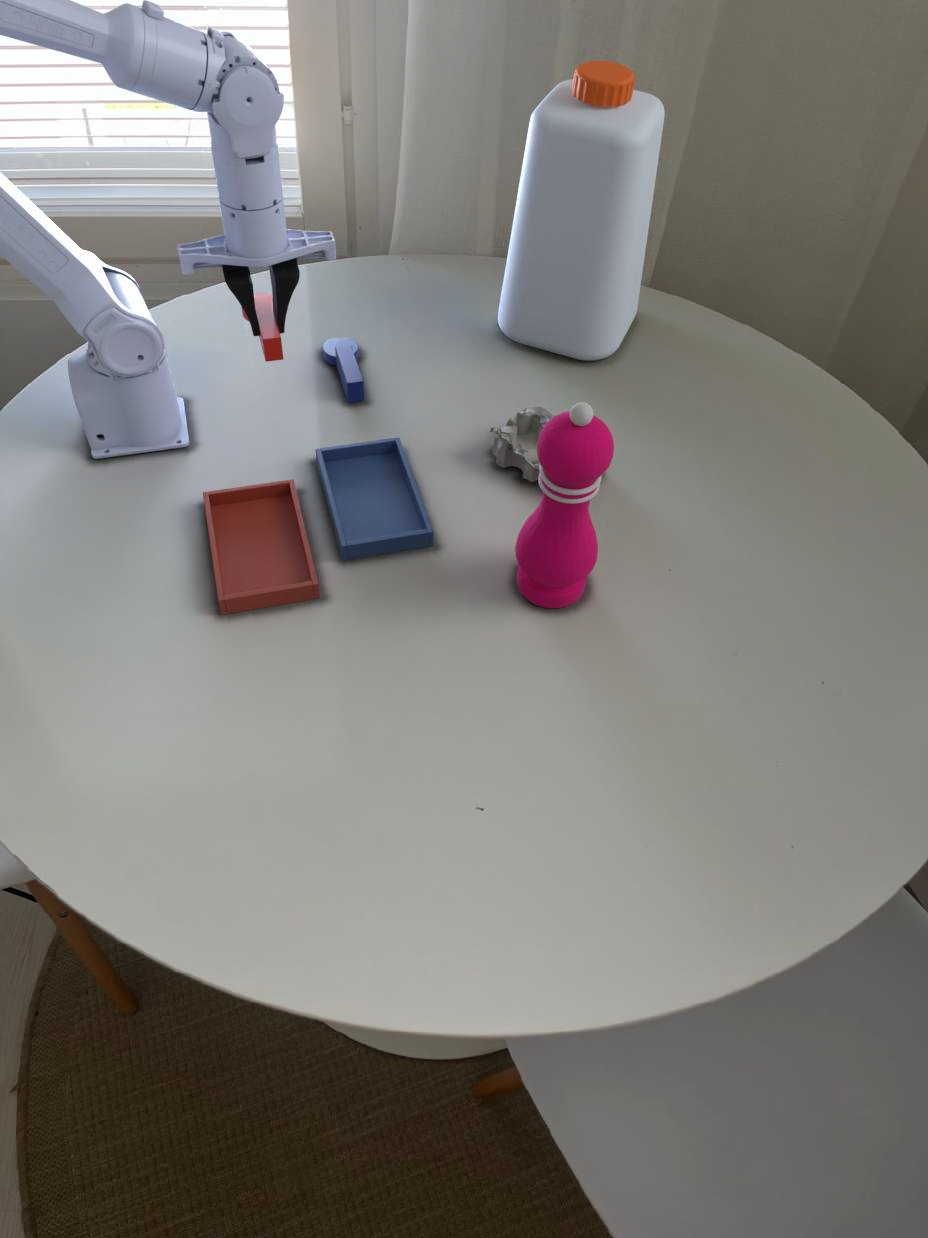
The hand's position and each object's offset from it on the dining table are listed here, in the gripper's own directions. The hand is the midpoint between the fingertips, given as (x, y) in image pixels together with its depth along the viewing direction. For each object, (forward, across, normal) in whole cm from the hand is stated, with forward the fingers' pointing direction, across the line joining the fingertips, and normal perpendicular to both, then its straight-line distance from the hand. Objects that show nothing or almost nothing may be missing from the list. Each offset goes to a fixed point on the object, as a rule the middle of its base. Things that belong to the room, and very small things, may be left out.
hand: (268, 329), depth 92 cm
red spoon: (+1, 0, -2) cm, 2 cm away
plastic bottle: (+8, -36, -7) cm, 38 cm away
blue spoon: (+8, -8, -2) cm, 12 cm away
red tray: (+8, +5, +23) cm, 25 cm away
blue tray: (+8, -6, +19) cm, 21 cm away
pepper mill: (+8, -20, +33) cm, 39 cm away
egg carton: (+8, -25, +17) cm, 31 cm away
